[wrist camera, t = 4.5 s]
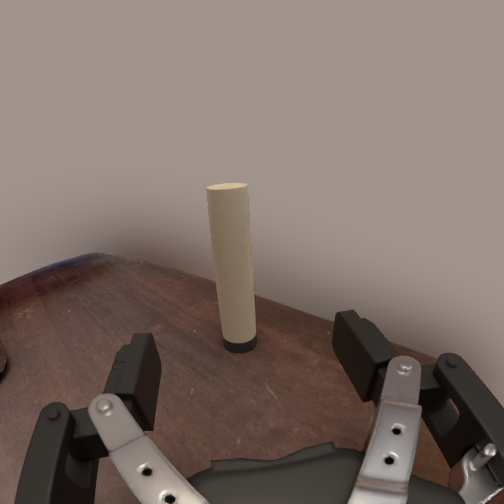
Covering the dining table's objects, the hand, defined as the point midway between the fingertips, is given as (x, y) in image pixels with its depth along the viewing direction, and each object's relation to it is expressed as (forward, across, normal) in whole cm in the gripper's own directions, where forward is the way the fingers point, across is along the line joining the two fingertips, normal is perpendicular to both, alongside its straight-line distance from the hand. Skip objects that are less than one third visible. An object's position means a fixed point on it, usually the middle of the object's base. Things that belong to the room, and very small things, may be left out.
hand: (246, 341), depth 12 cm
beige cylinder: (+10, 0, +8) cm, 12 cm away
